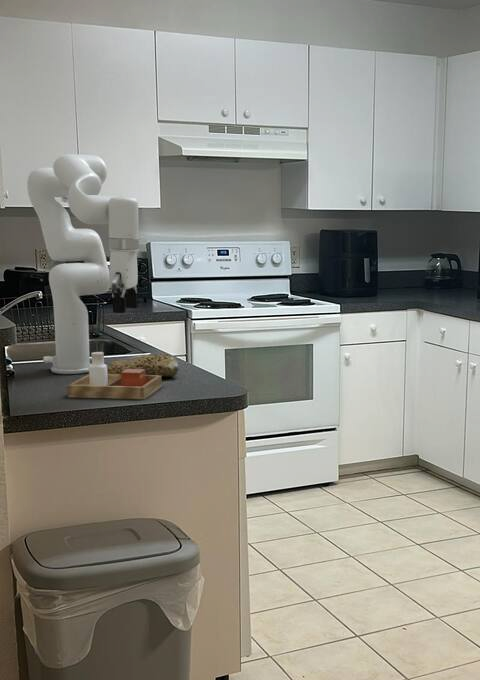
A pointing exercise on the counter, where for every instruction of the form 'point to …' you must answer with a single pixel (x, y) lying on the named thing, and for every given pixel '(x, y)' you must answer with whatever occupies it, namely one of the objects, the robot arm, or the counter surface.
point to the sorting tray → (114, 388)
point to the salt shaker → (98, 370)
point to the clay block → (133, 377)
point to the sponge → (147, 365)
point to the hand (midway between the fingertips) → (125, 310)
